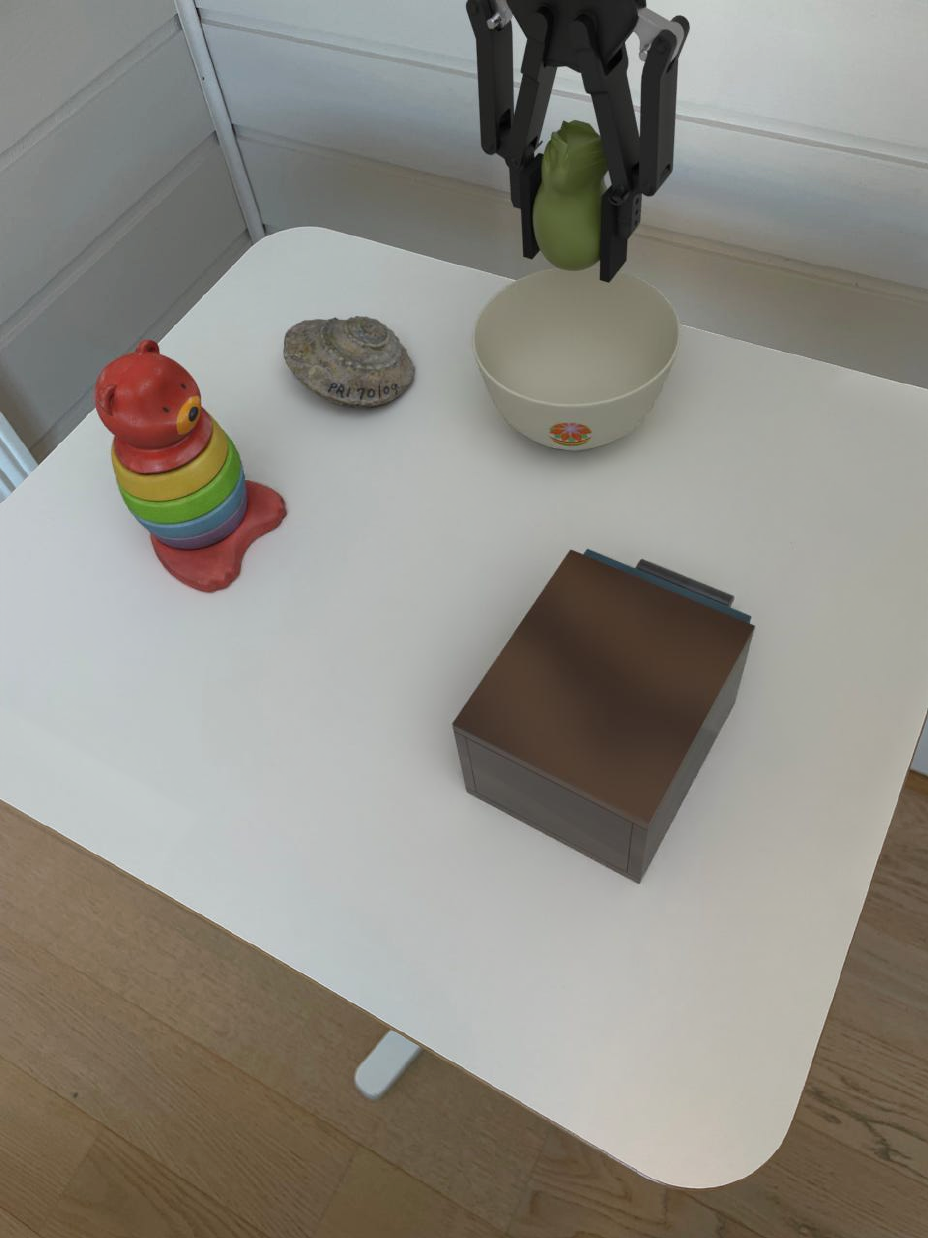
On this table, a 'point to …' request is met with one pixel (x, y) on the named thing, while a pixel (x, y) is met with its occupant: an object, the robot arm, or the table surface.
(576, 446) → the bowl
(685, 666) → the cabinet
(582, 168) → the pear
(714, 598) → the drawer
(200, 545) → the stacking bear
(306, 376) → the fossilized seashell
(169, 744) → the table surface
